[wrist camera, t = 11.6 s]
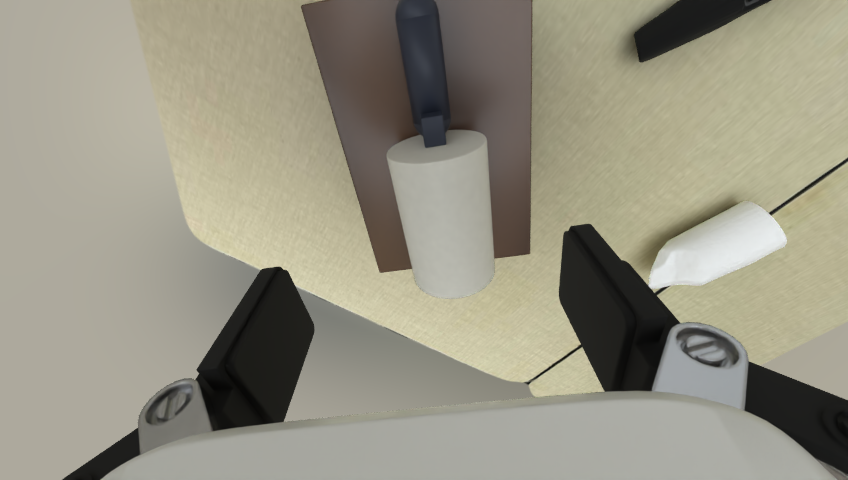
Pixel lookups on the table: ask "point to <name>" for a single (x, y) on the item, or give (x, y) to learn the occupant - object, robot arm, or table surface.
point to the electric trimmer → (688, 24)
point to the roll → (717, 247)
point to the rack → (468, 98)
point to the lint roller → (439, 170)
